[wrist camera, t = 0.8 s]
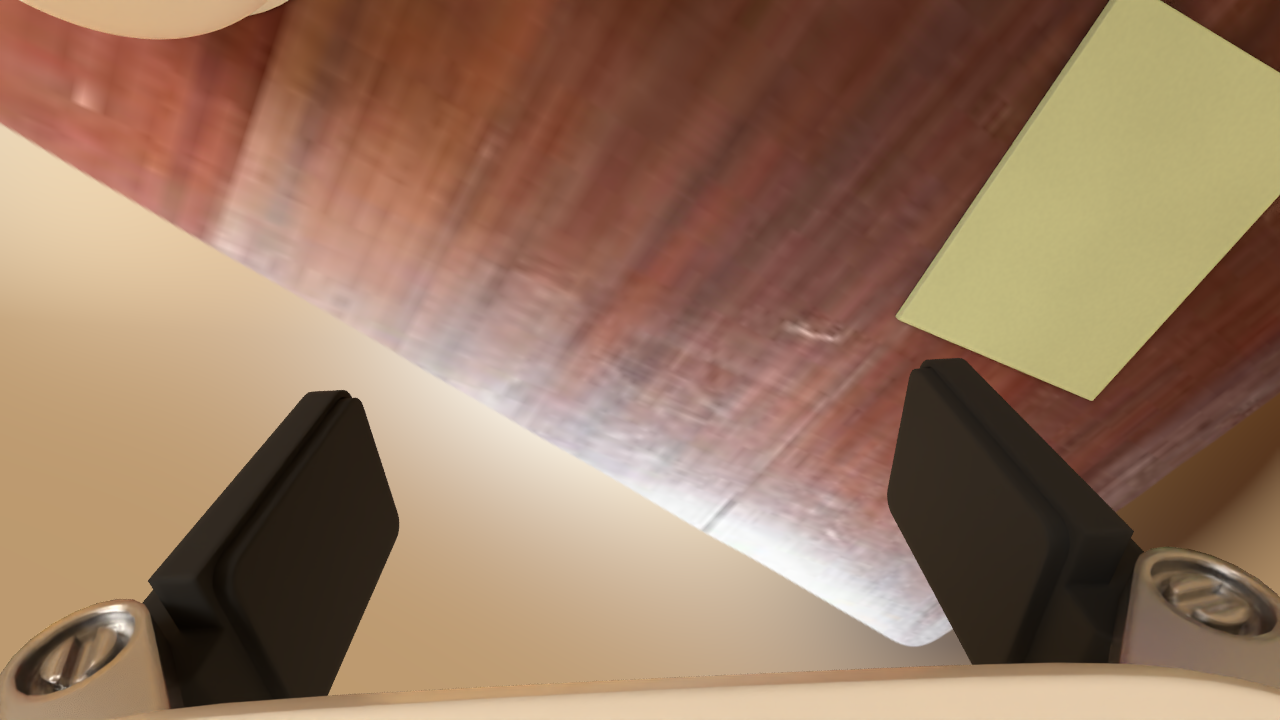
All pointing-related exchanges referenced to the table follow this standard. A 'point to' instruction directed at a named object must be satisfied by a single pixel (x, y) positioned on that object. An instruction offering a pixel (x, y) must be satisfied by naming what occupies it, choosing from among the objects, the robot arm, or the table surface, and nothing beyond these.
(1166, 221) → the mat
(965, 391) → the robot arm
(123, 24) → the vase
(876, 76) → the table surface
